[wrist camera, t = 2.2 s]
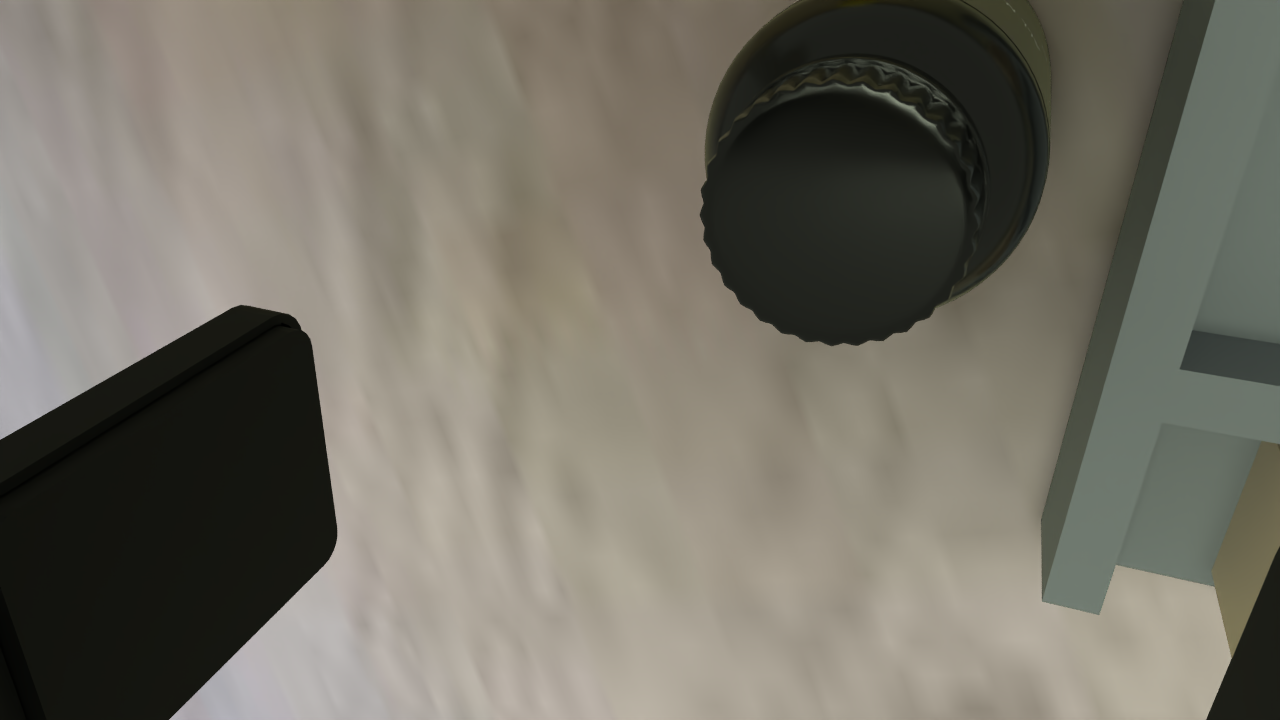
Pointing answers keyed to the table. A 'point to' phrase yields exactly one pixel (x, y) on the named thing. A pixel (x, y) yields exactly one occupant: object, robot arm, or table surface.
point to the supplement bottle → (875, 160)
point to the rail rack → (1186, 340)
